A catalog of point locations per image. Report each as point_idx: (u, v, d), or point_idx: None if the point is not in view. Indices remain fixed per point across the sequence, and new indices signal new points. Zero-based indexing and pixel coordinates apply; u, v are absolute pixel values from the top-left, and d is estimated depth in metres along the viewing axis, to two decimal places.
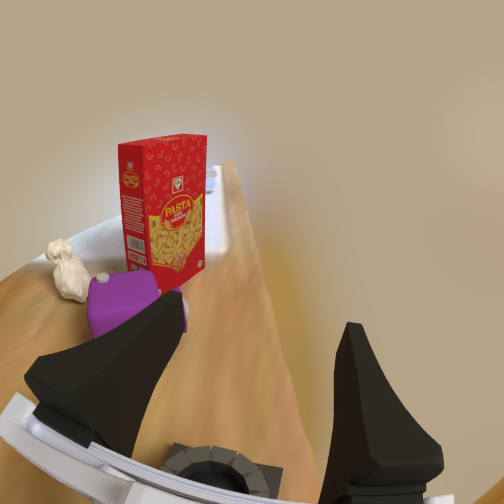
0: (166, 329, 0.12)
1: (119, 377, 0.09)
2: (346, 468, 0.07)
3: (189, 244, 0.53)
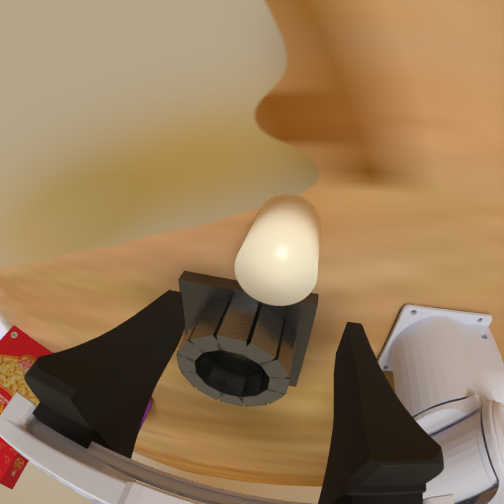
0: (166, 329, 0.12)
1: (118, 377, 0.09)
2: (346, 468, 0.07)
3: (8, 363, 0.36)
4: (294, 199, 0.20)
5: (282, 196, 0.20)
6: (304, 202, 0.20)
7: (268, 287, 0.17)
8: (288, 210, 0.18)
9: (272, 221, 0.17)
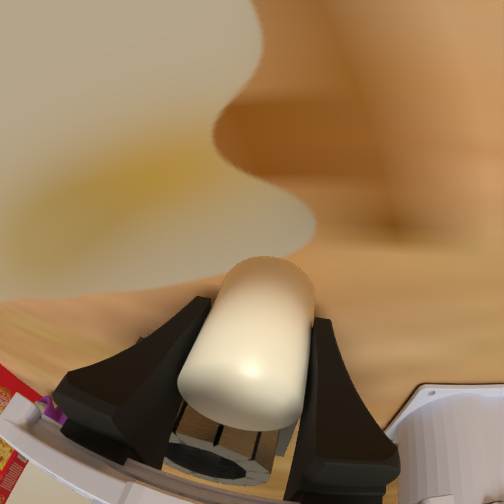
0: (196, 337, 0.12)
1: (154, 390, 0.09)
2: (301, 464, 0.07)
3: None
4: (276, 268, 0.13)
5: (258, 261, 0.13)
6: (291, 271, 0.13)
7: (230, 413, 0.10)
8: (263, 294, 0.11)
9: (234, 322, 0.10)
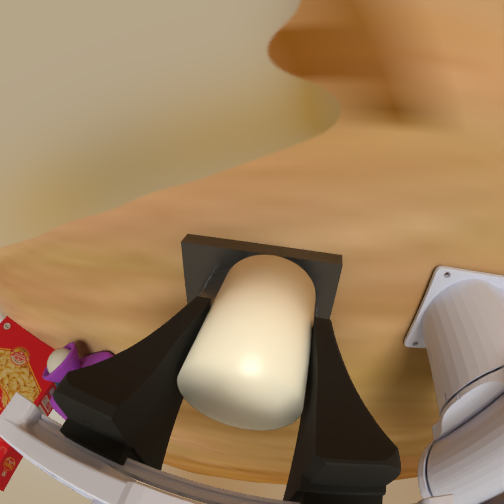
0: (196, 336, 0.12)
1: (155, 389, 0.09)
2: (301, 464, 0.07)
3: (0, 355, 0.33)
4: (277, 266, 0.13)
5: (259, 259, 0.13)
6: (292, 270, 0.13)
7: (229, 412, 0.10)
8: (264, 292, 0.11)
9: (234, 320, 0.10)
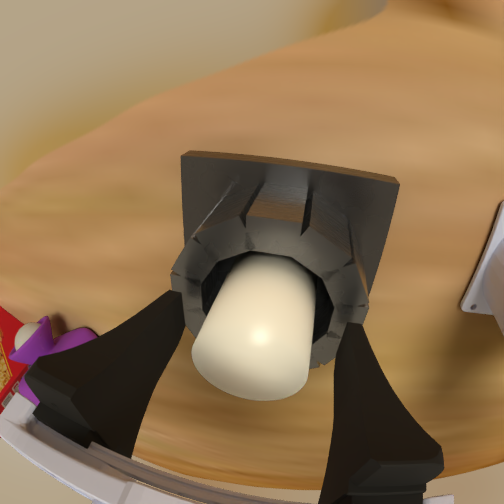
0: (166, 329, 0.12)
1: (118, 377, 0.09)
2: (346, 468, 0.07)
3: None
4: None
5: None
6: None
7: (239, 381, 0.11)
8: (272, 270, 0.13)
9: (247, 294, 0.11)
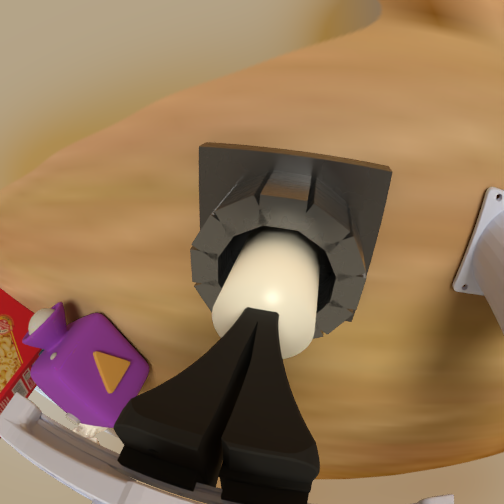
0: (251, 348, 0.11)
1: (223, 409, 0.08)
2: None
3: None
4: None
5: None
6: None
7: None
8: (282, 242, 0.15)
9: (261, 260, 0.13)
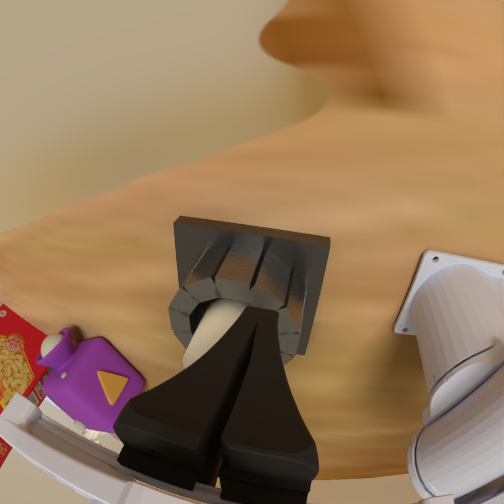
0: (251, 348, 0.11)
1: (222, 409, 0.08)
2: None
3: None
4: None
5: None
6: None
7: None
8: (233, 309, 0.19)
9: (215, 326, 0.18)
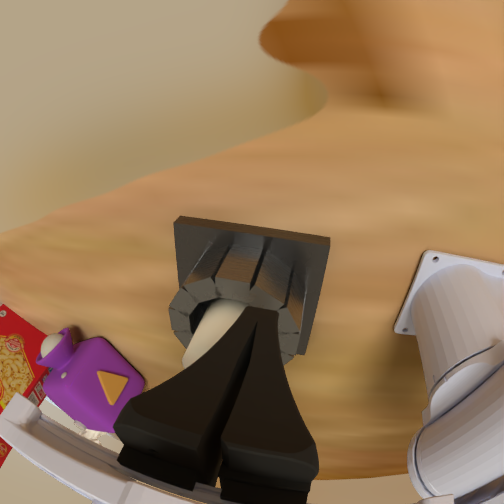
0: (251, 348, 0.11)
1: (222, 409, 0.08)
2: None
3: None
4: None
5: None
6: None
7: None
8: (233, 309, 0.19)
9: (215, 326, 0.18)
